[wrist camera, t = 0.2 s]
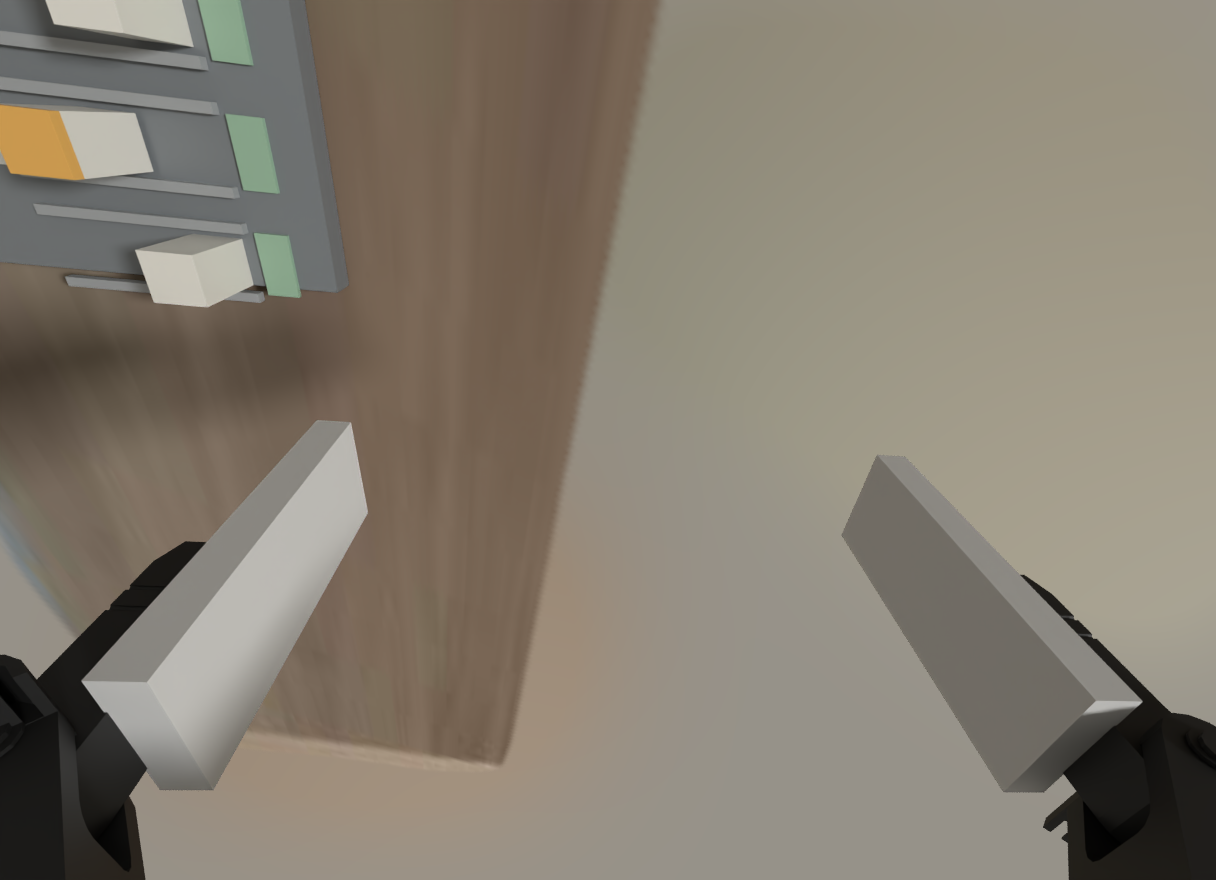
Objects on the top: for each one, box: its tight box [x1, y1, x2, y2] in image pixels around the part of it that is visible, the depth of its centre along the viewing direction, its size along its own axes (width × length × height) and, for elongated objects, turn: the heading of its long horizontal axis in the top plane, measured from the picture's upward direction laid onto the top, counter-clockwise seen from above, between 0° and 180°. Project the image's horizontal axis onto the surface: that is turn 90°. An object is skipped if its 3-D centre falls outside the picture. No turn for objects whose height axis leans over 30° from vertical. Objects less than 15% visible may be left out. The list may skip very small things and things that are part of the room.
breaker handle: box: [0, 103, 154, 180], centre depth 28 cm, size 3×3×6 cm
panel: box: [0, 0, 349, 307], centre depth 29 cm, size 18×22×7 cm
